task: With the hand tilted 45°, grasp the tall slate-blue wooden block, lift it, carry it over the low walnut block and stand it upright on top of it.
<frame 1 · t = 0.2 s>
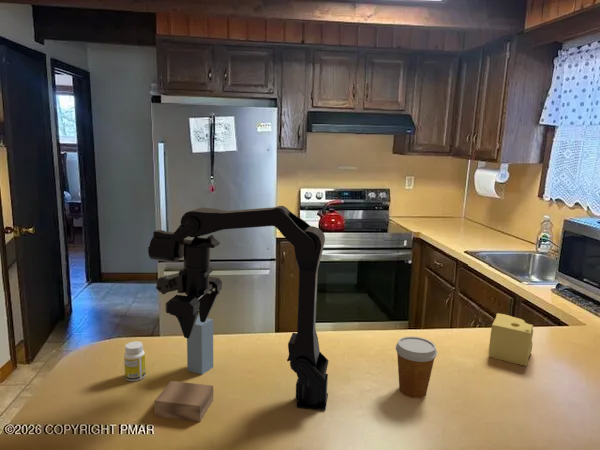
hand: (195, 329, 103), 14 cm above the counter, tool pointing down, fingers open, 9 cm apart
cheese: (509, 356, 127), on the counter
supplement bottle: (135, 377, 110), on the counter
slate block: (200, 368, 114), on the counter
walnut block: (185, 409, 98), on the counter
disposable coffee cup: (412, 392, 107), on the counter
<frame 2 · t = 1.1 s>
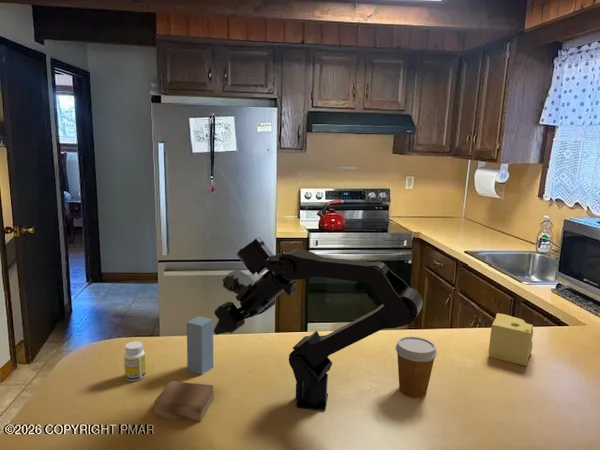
hand: (226, 325, 109), 13 cm above the counter, tool tilted 45°, fingers open, 9 cm apart
nothing on the counter moved.
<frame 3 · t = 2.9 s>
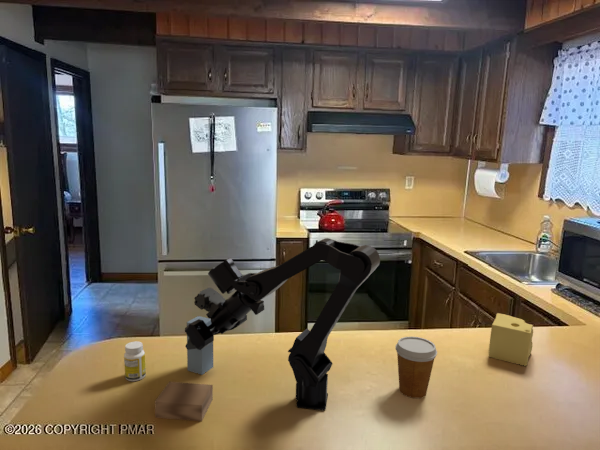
hand: (198, 340, 113), 8 cm above the counter, tool tilted 45°, fingers open, 9 cm apart
nothing on the counter moved.
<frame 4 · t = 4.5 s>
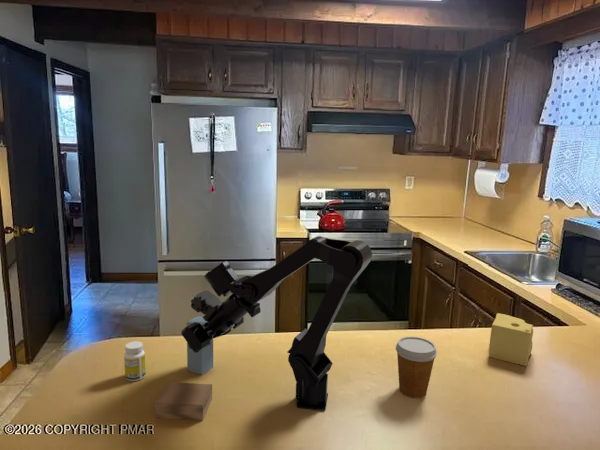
hand: (195, 343, 114), 7 cm above the counter, tool tilted 45°, fingers closed on slate block, 5 cm apart
slate block: (200, 368, 114), on the counter, touching gripper
everything else where it was.
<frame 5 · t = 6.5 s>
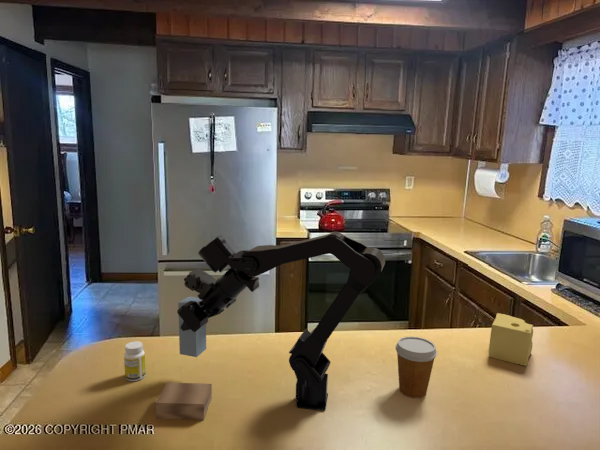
hand: (187, 325, 108), 13 cm above the counter, tool tilted 45°, fingers closed on slate block, 5 cm apart
slate block: (193, 351, 109), point 7 cm above the counter, touching gripper
everything else where it was.
when the fingers open (12 cm above the counter, at t = 8.7 s): slate block drops 2 cm, resting on walnut block.
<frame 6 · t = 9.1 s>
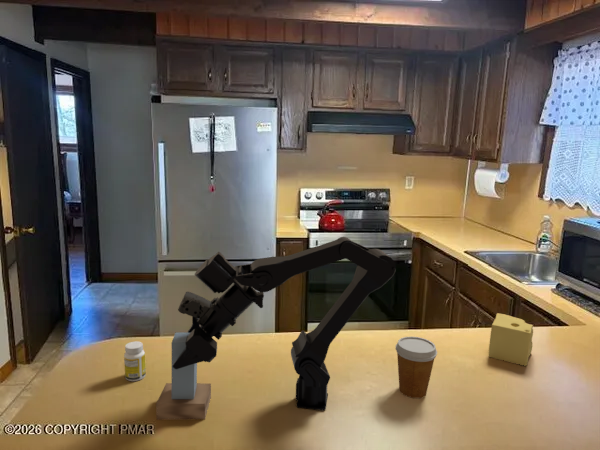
hand: (177, 356, 95), 12 cm above the counter, tool tilted 45°, fingers open, 9 cm apart
slate block: (184, 392, 97), point 4 cm above the counter, touching walnut block
walnut block: (185, 409, 98), on the counter, touching slate block
everything else where it was.
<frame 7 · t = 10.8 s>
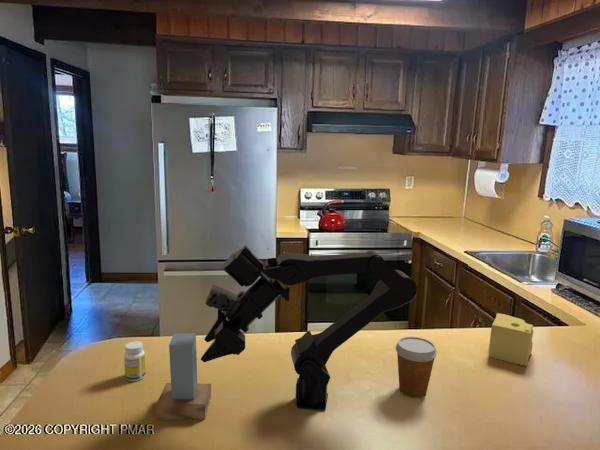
hand: (204, 350, 96), 13 cm above the counter, tool tilted 45°, fingers open, 9 cm apart
slate block: (185, 392, 97), point 4 cm above the counter, tilted 6°
walnut block: (185, 410, 97), on the counter
everything else where it was.
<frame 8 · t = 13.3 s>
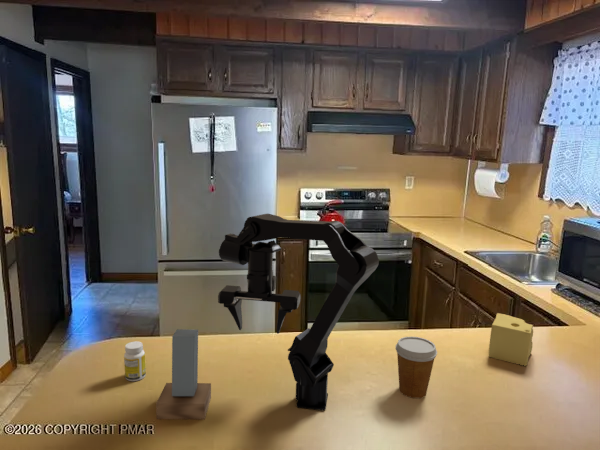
hand: (259, 331, 107), 13 cm above the counter, tool pointing down, fingers open, 9 cm apart
slate block: (184, 391, 97), point 4 cm above the counter, tilted 6°, touching walnut block
walnut block: (185, 409, 98), on the counter, touching slate block
everything else where it was.
at the end: slate block 0.3 cm off-centre on the walnut block, point 4.5 cm above the walnut block's base; slate block tilted 9°; the gripper is holding nothing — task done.
